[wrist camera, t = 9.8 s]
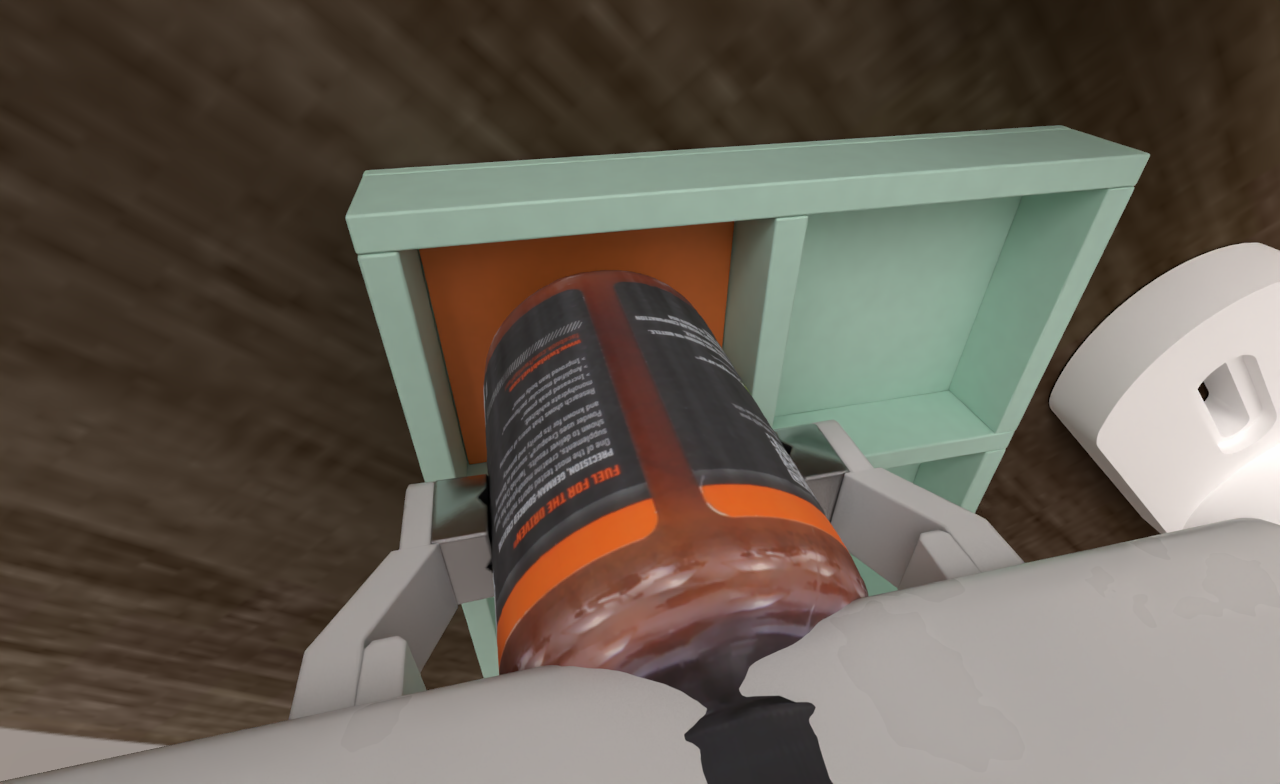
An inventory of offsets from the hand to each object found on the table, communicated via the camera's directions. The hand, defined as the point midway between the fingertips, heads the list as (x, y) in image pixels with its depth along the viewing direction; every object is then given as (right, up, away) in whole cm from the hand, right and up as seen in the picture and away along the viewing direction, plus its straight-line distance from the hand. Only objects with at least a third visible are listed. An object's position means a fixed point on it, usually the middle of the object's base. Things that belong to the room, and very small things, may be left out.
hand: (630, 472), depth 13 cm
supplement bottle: (-1, +3, +3) cm, 4 cm away
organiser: (+3, +1, +8) cm, 9 cm away
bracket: (+25, +1, +14) cm, 29 cm away
